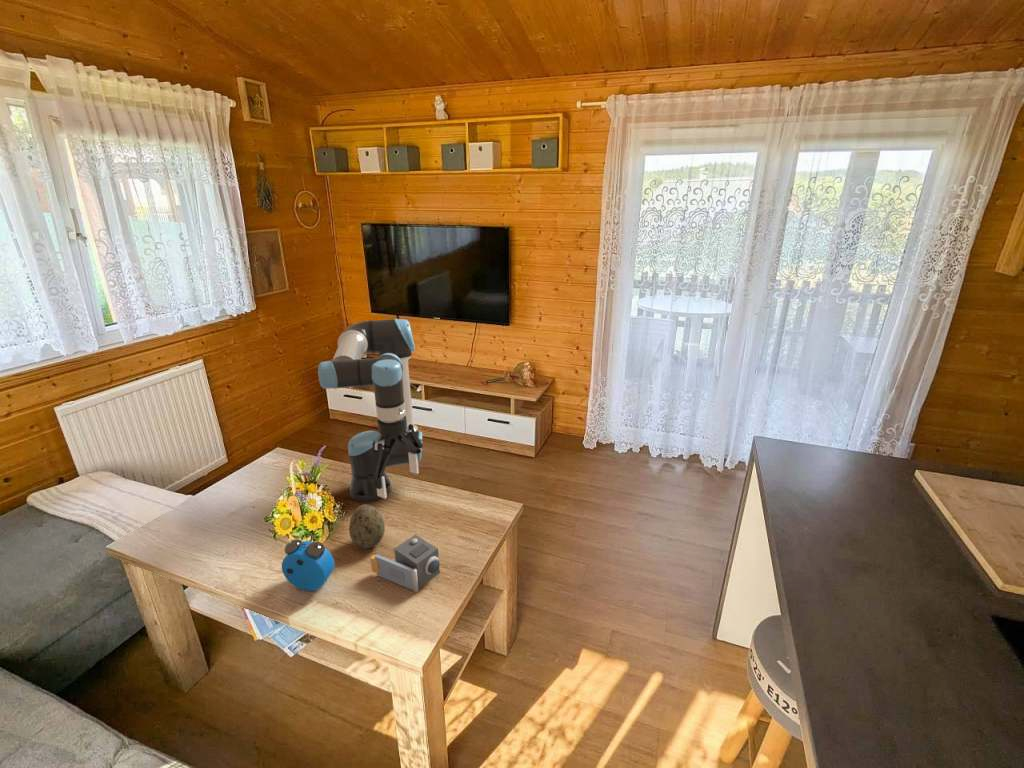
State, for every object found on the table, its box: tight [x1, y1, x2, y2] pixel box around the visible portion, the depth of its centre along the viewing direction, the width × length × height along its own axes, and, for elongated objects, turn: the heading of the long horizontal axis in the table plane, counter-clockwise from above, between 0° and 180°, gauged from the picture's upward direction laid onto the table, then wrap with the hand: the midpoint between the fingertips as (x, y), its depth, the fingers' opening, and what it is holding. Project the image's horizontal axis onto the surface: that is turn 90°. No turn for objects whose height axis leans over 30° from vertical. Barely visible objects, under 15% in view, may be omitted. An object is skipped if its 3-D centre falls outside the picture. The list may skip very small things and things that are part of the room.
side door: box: [369, 553, 420, 593], centre depth 138 cm, size 16×2×7 cm, turn 63°
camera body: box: [393, 534, 441, 589], centre depth 140 cm, size 11×8×10 cm
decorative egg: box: [348, 504, 386, 549], centre depth 151 cm, size 11×11×15 cm
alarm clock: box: [281, 538, 335, 592], centre depth 136 cm, size 13×6×15 cm, turn 80°
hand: (399, 484), depth 136 cm, fingers open, 13 cm apart
